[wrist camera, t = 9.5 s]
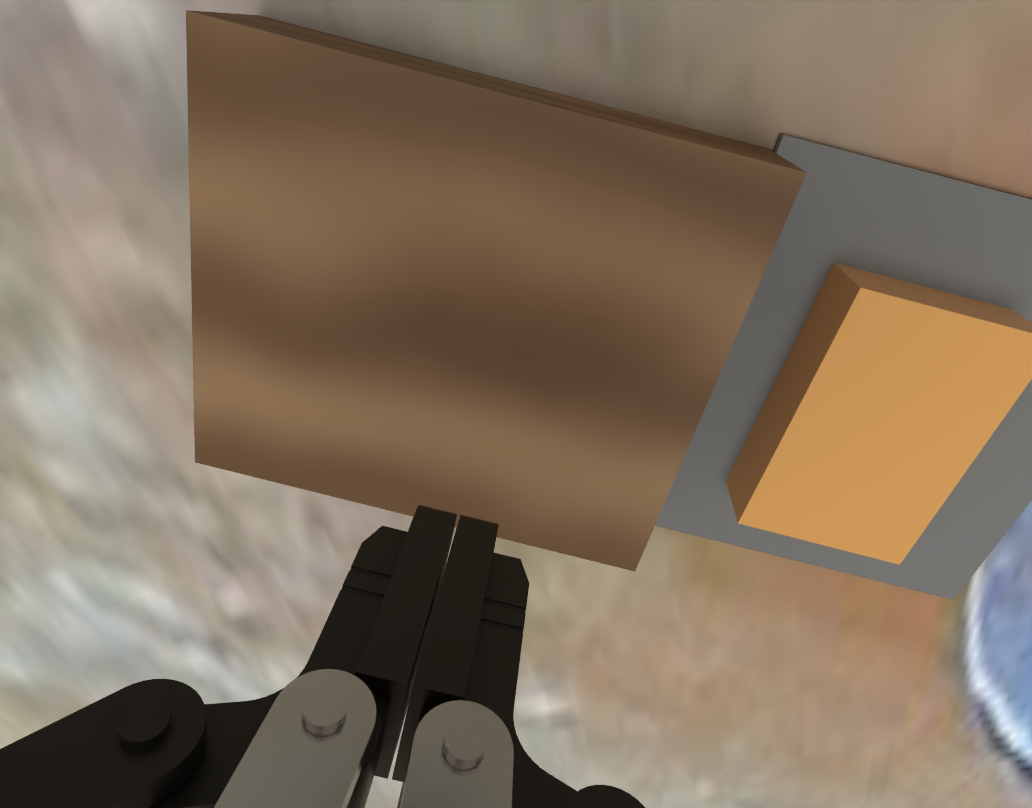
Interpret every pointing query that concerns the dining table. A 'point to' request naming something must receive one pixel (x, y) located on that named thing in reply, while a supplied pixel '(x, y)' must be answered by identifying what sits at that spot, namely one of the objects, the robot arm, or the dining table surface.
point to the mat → (784, 307)
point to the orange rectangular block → (878, 413)
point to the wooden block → (458, 284)
